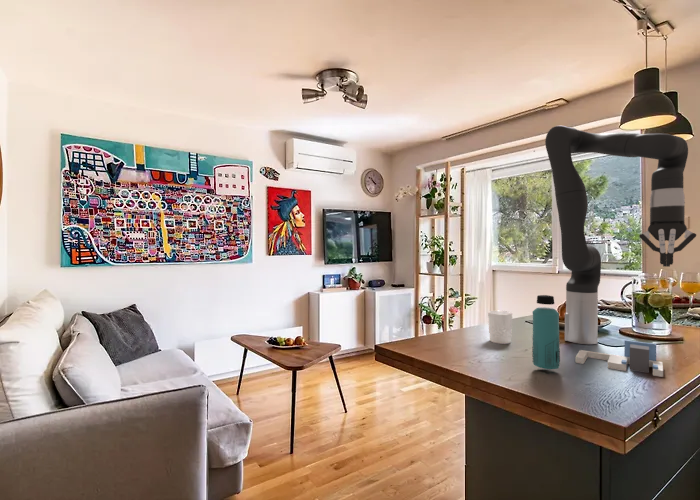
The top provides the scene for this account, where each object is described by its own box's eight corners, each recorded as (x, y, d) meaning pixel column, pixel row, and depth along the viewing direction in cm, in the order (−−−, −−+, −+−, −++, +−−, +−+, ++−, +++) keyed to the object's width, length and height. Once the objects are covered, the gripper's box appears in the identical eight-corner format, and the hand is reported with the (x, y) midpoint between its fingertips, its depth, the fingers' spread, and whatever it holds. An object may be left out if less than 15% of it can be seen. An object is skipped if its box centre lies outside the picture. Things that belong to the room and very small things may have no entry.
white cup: (514, 340, 130) (514, 311, 130) (510, 345, 124) (510, 315, 124) (490, 337, 135) (490, 309, 134) (485, 342, 128) (485, 313, 128)
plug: (629, 369, 99) (629, 347, 99) (630, 366, 102) (630, 344, 102) (648, 373, 97) (649, 350, 97) (649, 369, 100) (649, 346, 100)
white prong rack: (575, 362, 105) (575, 341, 105) (580, 354, 114) (580, 334, 113) (663, 377, 94) (663, 353, 93) (662, 366, 102) (662, 344, 102)
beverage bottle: (559, 377, 94) (559, 297, 94) (530, 372, 97) (530, 295, 97) (560, 369, 100) (560, 294, 99) (533, 365, 103) (533, 293, 103)
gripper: (637, 206, 108) (636, 266, 108) (699, 202, 99) (699, 267, 100) (637, 208, 114) (637, 265, 114) (697, 205, 105) (696, 266, 105)
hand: (666, 266), depth 107 cm, fingers closed
